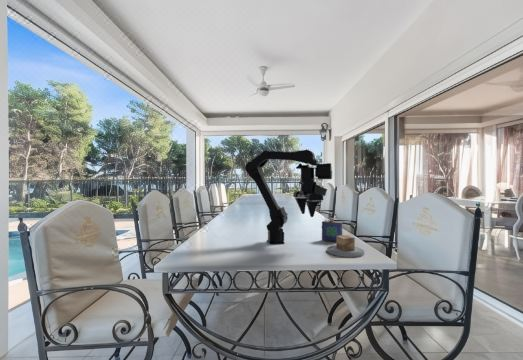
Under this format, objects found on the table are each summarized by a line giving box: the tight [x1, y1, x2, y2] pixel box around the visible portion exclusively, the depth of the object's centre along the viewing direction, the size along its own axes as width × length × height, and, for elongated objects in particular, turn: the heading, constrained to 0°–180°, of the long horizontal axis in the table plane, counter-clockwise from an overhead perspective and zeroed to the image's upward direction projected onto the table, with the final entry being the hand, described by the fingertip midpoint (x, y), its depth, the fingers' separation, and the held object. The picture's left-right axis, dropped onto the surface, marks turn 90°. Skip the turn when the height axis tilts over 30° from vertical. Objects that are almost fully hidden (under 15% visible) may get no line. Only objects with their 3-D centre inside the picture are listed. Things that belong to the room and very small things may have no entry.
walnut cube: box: [335, 234, 356, 251], centre depth 112 cm, size 5×5×5 cm
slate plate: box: [326, 244, 365, 259], centre depth 112 cm, size 14×14×1 cm
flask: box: [321, 217, 343, 243], centre depth 130 cm, size 9×3×11 cm, turn 74°
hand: (307, 215), depth 123 cm, fingers open, 9 cm apart
